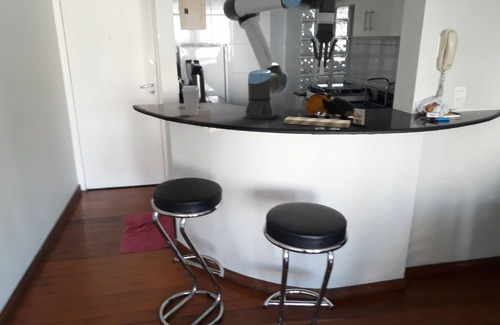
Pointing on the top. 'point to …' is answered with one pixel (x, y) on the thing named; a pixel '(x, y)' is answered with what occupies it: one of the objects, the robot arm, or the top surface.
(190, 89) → the coffee cup
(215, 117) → the top surface
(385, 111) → the top surface
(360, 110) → the architectural model
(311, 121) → the board
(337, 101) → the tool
